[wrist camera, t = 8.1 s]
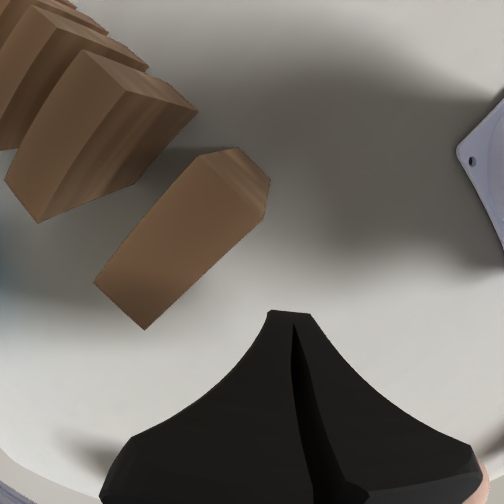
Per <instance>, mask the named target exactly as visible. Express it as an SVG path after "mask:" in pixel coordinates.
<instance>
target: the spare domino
mask: <svg viewBox="0 0 504 504" xmlns="http://www.w3.org/2000/svg"><path fill="white" fill-rule="evenodd" d="M270 181H271V180H270V179H269V177H268V176H267V175H266V174H265V173H264V172H263V171H262V170H261V169H260V168H259V167H258V166H257V165H256V164H255V163H254V162H253V161H252V160H251V159H250V158H249V157H248V156H247V155H246V154H245V153H244V152H243V151H242V150H241V149H240V148H239V147H238V148H232V149H227V150H222V151H217V152H212V153H207V154H202V155H198V156H197V157H196V158H195V160H194V161H193V162H192V163H191V164H190V165H189V166H188V167H187V168H186V169H185V170H184V171H183V172H182V174H181V175H180V176H179V177H178V178H177V179H176V180H175V181H174V182H173V184H172V185H171V186H170V187H169V188H168V189H167V190H166V192H165V193H164V194H163V195H162V196H161V197H160V198H159V200H158V201H157V202H156V203H155V204H154V205H153V207H152V208H151V209H150V210H149V211H148V212H147V214H146V215H145V216H144V217H143V218H142V220H141V221H140V222H139V223H138V225H137V226H136V227H135V228H134V229H133V231H132V232H131V233H130V234H129V236H128V237H127V238H126V239H125V241H124V242H123V243H122V245H121V246H120V247H119V248H118V250H117V251H116V252H115V254H114V255H113V256H112V257H111V259H110V260H109V261H108V263H107V264H106V265H105V267H104V268H103V269H102V271H101V272H100V273H99V275H98V276H97V277H96V279H95V280H94V282H93V283H94V284H95V285H96V286H97V287H98V288H99V289H100V290H101V291H102V292H103V293H104V294H105V295H106V296H107V297H109V298H110V299H111V300H112V301H113V302H114V303H115V304H116V305H117V306H118V307H119V308H120V309H121V310H122V311H123V312H124V313H125V314H127V315H128V316H129V317H130V318H131V319H132V320H133V321H134V322H135V323H136V324H138V325H139V326H140V327H141V328H142V329H143V330H144V331H145V330H146V329H147V328H148V327H149V326H150V325H151V324H152V323H153V322H154V321H155V320H156V319H157V318H158V317H159V316H160V315H161V314H163V313H164V312H165V311H166V310H167V309H168V308H169V307H170V306H171V305H172V304H173V303H174V302H175V301H176V300H177V299H178V298H179V297H180V296H181V295H182V294H184V293H185V292H186V291H187V290H188V289H189V288H190V287H191V286H192V285H193V284H194V283H195V282H196V281H197V280H198V279H199V278H200V277H201V276H203V275H204V274H205V273H206V272H207V271H208V270H209V269H210V268H211V267H212V266H213V265H214V264H215V263H216V262H217V261H219V260H220V259H221V258H222V257H223V256H224V255H225V254H226V253H227V252H228V251H229V250H230V249H231V248H232V247H234V246H235V245H236V244H237V243H238V242H239V241H240V240H241V239H242V238H243V237H244V236H245V235H246V234H247V233H249V232H250V231H251V230H252V229H253V228H254V227H255V226H256V225H257V224H258V223H259V222H260V221H262V220H263V216H264V211H265V206H266V201H267V196H268V191H269V186H270Z"/></svg>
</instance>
